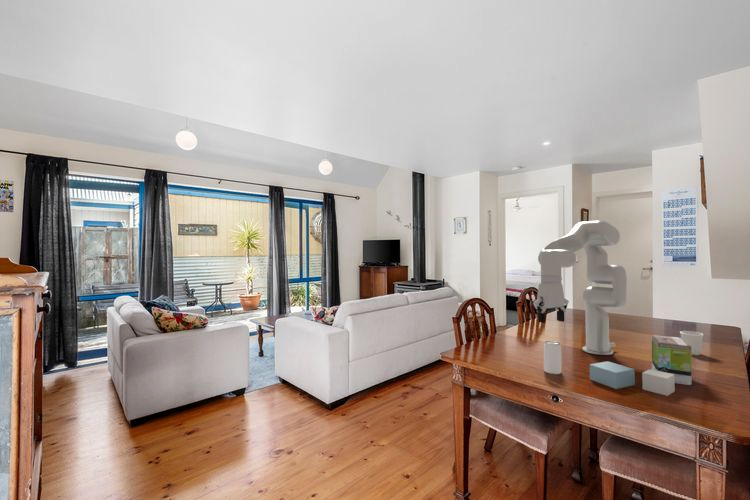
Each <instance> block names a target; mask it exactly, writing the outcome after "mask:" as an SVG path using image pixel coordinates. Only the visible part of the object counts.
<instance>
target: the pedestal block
mask: <svg viewBox="0 0 750 500" xmlns="http://www.w3.org/2000/svg"><path fill="white" fill-rule="evenodd" d="M635 371H636V369H635V368H631V367H628V366H625V365H622V364H618V363H615V362H611V361H602V362H596V363H590V364H589V380H590V381H593V382H596V383H598V384H600V385H601V384H602V385H603V386H604V385H605V386H607V387H610V388H613V389H615V390H618V389H622V388H628V387H633V386H635V385H636V384H635V383H636V382H635V381H636V379H635V378H636V377H635Z"/></svg>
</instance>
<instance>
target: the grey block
mask: <svg viewBox="0 0 750 500" xmlns="http://www.w3.org/2000/svg"><path fill="white" fill-rule="evenodd" d="M641 378H642V382H641V383H642V390H643V391H644V390H645V391H648V392H652V393H655V394H658V395H662V396H666V397H668V396H670V395H671V394H673V393H674V392H675V391H676V389H675V388H676V387H675V384H676V383H675V380H674V374H670V373H666V372H661V371H657V370H653V369H652V368H649V369H647V370H645V371H643V372H642V373H641Z"/></svg>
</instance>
